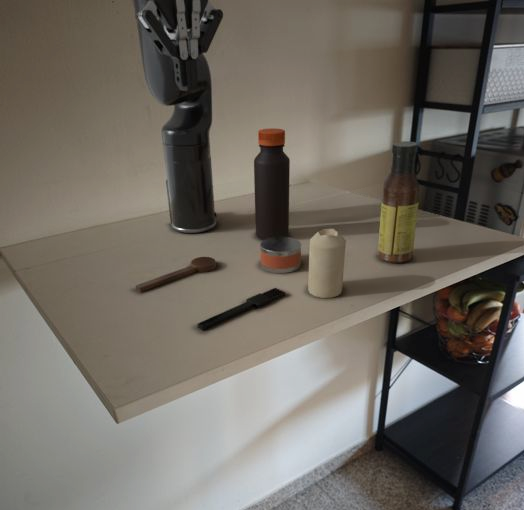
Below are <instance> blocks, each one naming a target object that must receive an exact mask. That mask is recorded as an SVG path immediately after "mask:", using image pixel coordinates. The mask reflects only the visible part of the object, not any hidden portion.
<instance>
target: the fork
mask: <svg viewBox="0 0 524 510" xmlns="http://www.w3.org/2000/svg"><path fill="white" fill-rule="evenodd" d="M285 296H286V291H283V290H281V289H279V288H277V287H273V288H271V289H269V290H267V291H265V292H262V293H258V294H255V295H253V296H251V297H248V298H246V301H245V302H242V303H241V304H239V305H237V306H234V307H231V308H229V309H228V310H225V311H223V312H220V313H219V314H216V315H214V316H211V317H209V318H207V319H204V320H203V321H200V322H198V323H197V324H196V325H197V328H198V329H199V330H201V331H202V332H203V331H206V330H208V329H210V328H213V327H215V326H217V325H219V324H221V323H223V322H226V321H228V320H230V319H232V318H234V317H236V316H238V315H241V314H243V313H246V312H248V311H250V310H251V309H254V308H255V309H260V308H263V307H265V306H266V305H268V304H271V303H272V302H274V301H276V300H278V299H280V298H283V297H285Z"/></svg>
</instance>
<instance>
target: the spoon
mask: <svg viewBox="0 0 524 510" xmlns="http://www.w3.org/2000/svg"><path fill="white" fill-rule="evenodd" d="M216 268H217V264H216V259H215V258H213V257H210V256H198V257H196V258H193V259H192V260H191V261H190V265H189V266H186V267H184V268H183V267H182V268H181V269H178V270H175V271H172V272H169V273H166V274H164V275H161V276H158V277H155V278H152V279H150V280H146V281H145V282H141V283H138V284H136V285H135V290H136V291H137V292H140V293H144V292H145V291H148V290H151V289H154V288H157V287H160V286H162V285H165V284H167V283H170V282H172V281H175V280H178V279H181V278H184V277H186V276H189V275H191V274H194V273H197V272H198V273H207V272H211V271H213V270H215V269H216Z"/></svg>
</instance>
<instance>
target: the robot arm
mask: <svg viewBox="0 0 524 510" xmlns="http://www.w3.org/2000/svg"><path fill="white" fill-rule="evenodd" d="M132 5H133V9H134V10H133V11H134V17H135V21H136V28H137V35H138V41H139V48H140V56H141V61H142V68H143V74H144V79H145V82H146V84H147V85H146V86H147V89H148V90H149V93H150V94H151V96H152V97H153V99H154V100H155V101H156V102H157V103H158V104H159V105H162V106H164V107H165V106H166V107H171V106H172V107H173V112H172V114H171V116H170V118H169V119H168V120H167V122H165V124H163V126H162V127H161V140H162V149H163V156H164V165H165V172H166V180H165V187H166V197H167V205H168V211H169V212H168V213H169V220H170V225H171V227H172V229H173V230H174V231H176V232H178V233H185V234H198V233H199V234H200V233H204V232H207V231H210V230H212V229H214V228H216V226H217V220H216V218H217V212H216V210H215V195H214V181H213V167H212V153H211V139H210V132H211V127H212V125H213V90H212V89H213V86H212V74H211V69H210V65H209V62H208V60H207V58H206V56H205V55H204V54H206V53H207V52H208V51H209V49H210V47H211V44H212V43H213V40H214V38H215V36H216V33H217V32H218V29H219V27H220V25H221V22H222V20H223V18H224V12H223V10H222V9H220V8H216V7H214V5H213V4H212V3H211V2H210V1H209V0H132Z"/></svg>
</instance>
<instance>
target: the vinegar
mask: <svg viewBox="0 0 524 510" xmlns="http://www.w3.org/2000/svg"><path fill="white" fill-rule="evenodd" d="M257 133H258V136H257V137H258V138H257V139H258V147H259V148H260V149H259V150H260V151H259V152H258V154H257V155H256V156H255V157H254V159H253V179H254V180H253V181H254V182H253V183H254V185H253V187H254V218H255V221H254V223H255V224H254V225H255V236H256V237H257V238H258V239H259V240H262V241H263V240H265V239H268V238H272V237H289V234H290V176H291V175H290V170H291V168H290V166H291V165H290V163H291V160H290V158H289V156H288V154H287V153H285V151H284V147H285V144H286V130H285V129H282V128H275V127H274V128H273V127H272V128H263V129H259V130H258V131H257Z"/></svg>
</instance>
